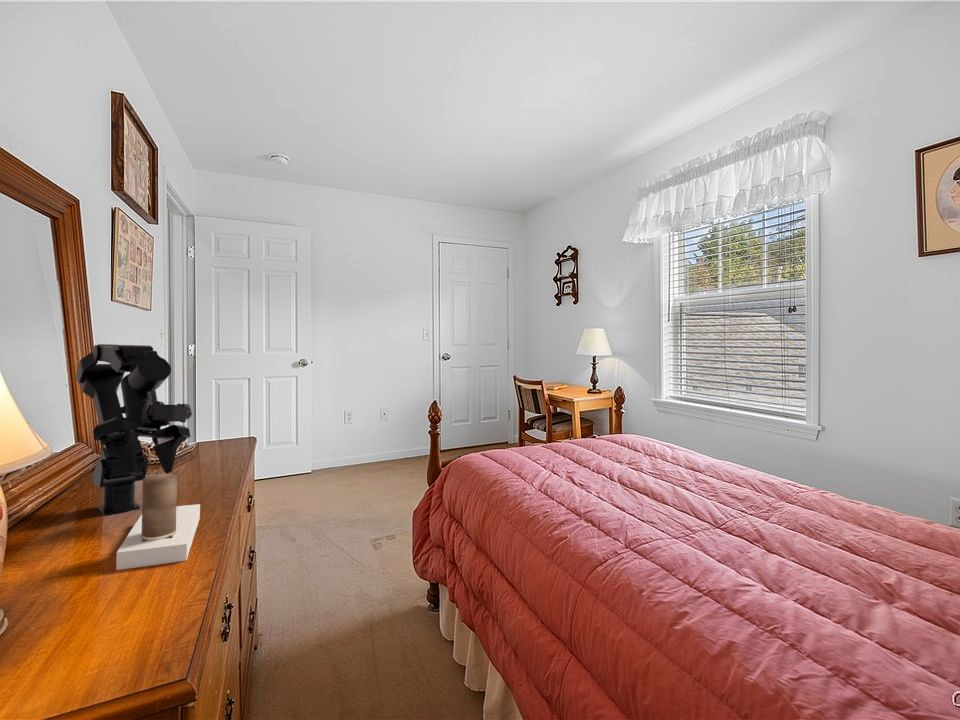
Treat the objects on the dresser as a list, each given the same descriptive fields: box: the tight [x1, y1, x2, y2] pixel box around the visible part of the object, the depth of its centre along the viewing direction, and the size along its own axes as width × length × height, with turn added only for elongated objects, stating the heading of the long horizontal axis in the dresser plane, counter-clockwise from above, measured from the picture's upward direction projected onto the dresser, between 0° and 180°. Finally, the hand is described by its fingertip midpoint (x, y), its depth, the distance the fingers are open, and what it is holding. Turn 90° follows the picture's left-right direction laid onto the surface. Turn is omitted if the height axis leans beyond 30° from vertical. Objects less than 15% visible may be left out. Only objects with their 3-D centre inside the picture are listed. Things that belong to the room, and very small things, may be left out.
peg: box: [141, 473, 178, 541], centre depth 86 cm, size 5×5×13 cm
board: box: [115, 503, 201, 571], centre depth 90 cm, size 22×10×3 cm, turn 26°
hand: (151, 472), depth 94 cm, fingers open, 9 cm apart
